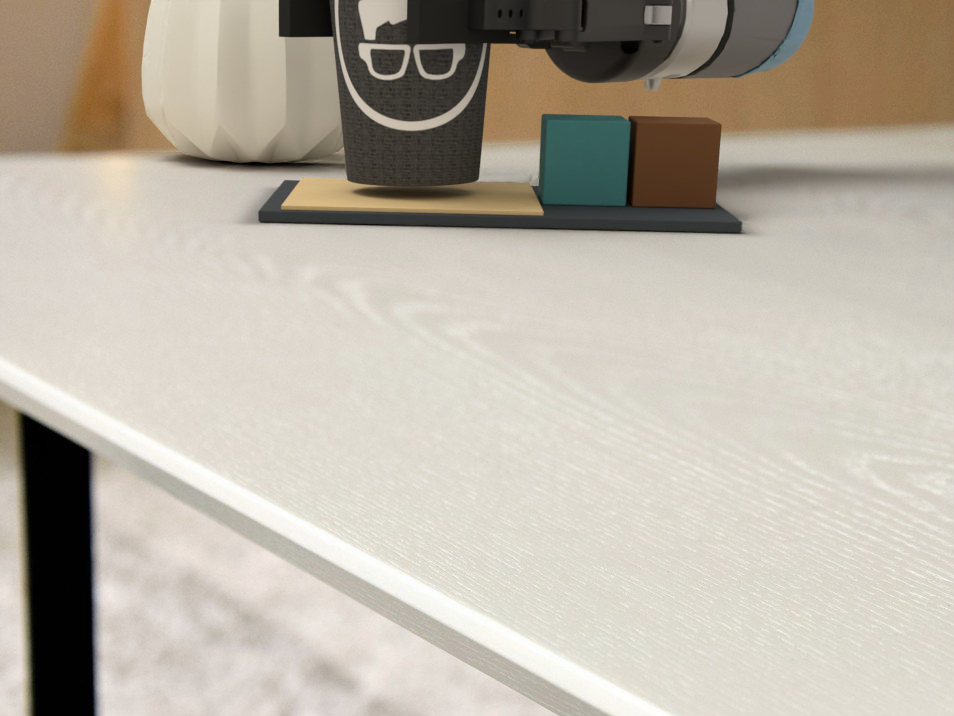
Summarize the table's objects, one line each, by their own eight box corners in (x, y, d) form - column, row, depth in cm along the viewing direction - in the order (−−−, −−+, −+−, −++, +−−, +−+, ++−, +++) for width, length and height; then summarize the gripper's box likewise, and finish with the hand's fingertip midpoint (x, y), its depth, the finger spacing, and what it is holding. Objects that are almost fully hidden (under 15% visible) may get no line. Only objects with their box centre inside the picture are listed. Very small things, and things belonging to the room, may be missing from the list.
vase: (289, 176, 93) (288, -75, 89) (100, 159, 99) (91, -75, 95) (411, 158, 104) (415, -65, 100) (234, 145, 111) (231, -65, 106)
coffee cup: (550, 178, 80) (557, -151, 76) (415, 194, 74) (414, -165, 69) (410, 166, 86) (409, -139, 82) (275, 180, 80) (265, -151, 75)
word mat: (698, 198, 86) (704, 111, 85) (741, 232, 74) (749, 131, 73) (284, 189, 87) (283, 102, 85) (258, 221, 74) (257, 120, 73)
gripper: (785, 92, 85) (520, 108, 69) (484, 72, 98) (198, 82, 81) (799, -60, 83) (528, -81, 67) (488, -61, 95) (195, -78, 79)
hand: (347, 9), depth 74 cm, fingers closed on coffee cup, 7 cm apart
